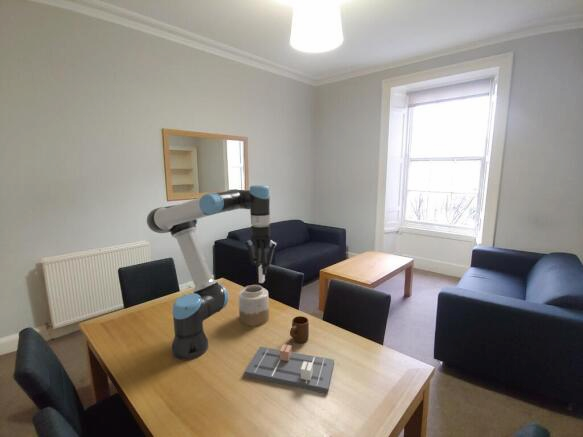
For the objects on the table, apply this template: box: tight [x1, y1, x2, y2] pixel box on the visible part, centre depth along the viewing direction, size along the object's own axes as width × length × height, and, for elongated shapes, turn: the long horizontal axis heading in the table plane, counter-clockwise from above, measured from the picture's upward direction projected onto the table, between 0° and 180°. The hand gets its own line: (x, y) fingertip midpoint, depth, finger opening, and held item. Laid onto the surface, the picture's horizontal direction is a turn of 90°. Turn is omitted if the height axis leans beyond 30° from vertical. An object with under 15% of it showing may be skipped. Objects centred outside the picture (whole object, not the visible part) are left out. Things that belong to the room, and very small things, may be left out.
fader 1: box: [279, 343, 293, 361], centre depth 119 cm, size 4×4×4 cm
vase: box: [238, 284, 270, 327], centre depth 151 cm, size 15×15×17 cm
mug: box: [289, 315, 310, 344], centre depth 132 cm, size 12×8×9 cm, turn 148°
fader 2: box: [301, 361, 313, 380], centre depth 108 cm, size 4×4×4 cm
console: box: [243, 346, 335, 394], centre depth 115 cm, size 32×16×2 cm, turn 74°
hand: (261, 281), depth 119 cm, fingers closed
